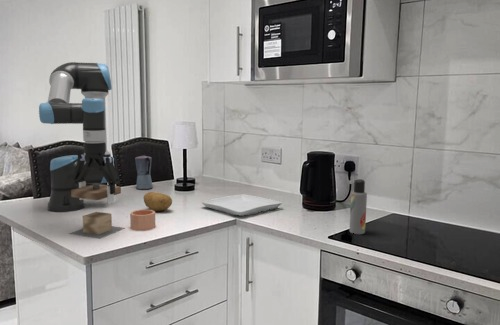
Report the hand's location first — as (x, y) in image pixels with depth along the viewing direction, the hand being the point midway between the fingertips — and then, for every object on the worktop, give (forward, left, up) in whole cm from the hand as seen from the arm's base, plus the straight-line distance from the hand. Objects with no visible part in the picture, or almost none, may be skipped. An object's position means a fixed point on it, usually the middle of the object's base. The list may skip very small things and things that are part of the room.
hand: (96, 201), depth 154 cm
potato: (+2, +36, -12) cm, 38 cm away
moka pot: (-33, +75, -12) cm, 82 cm away
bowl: (+12, +11, -11) cm, 20 cm away
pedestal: (0, 0, -11) cm, 11 cm away
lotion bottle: (+88, +39, -12) cm, 97 cm away
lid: (0, 0, +2) cm, 2 cm away
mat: (0, 0, -11) cm, 11 cm away
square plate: (+34, +55, -12) cm, 66 cm away
